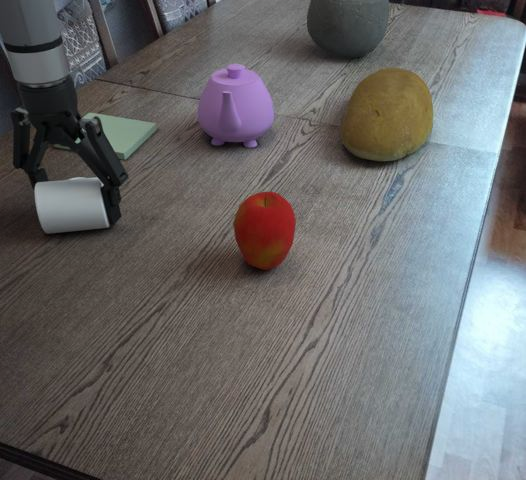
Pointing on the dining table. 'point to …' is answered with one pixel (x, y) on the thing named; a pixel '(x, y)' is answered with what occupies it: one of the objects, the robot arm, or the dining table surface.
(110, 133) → the scale
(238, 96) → the teapot
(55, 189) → the mug
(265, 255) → the apple
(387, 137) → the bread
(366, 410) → the dining table surface
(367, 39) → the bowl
